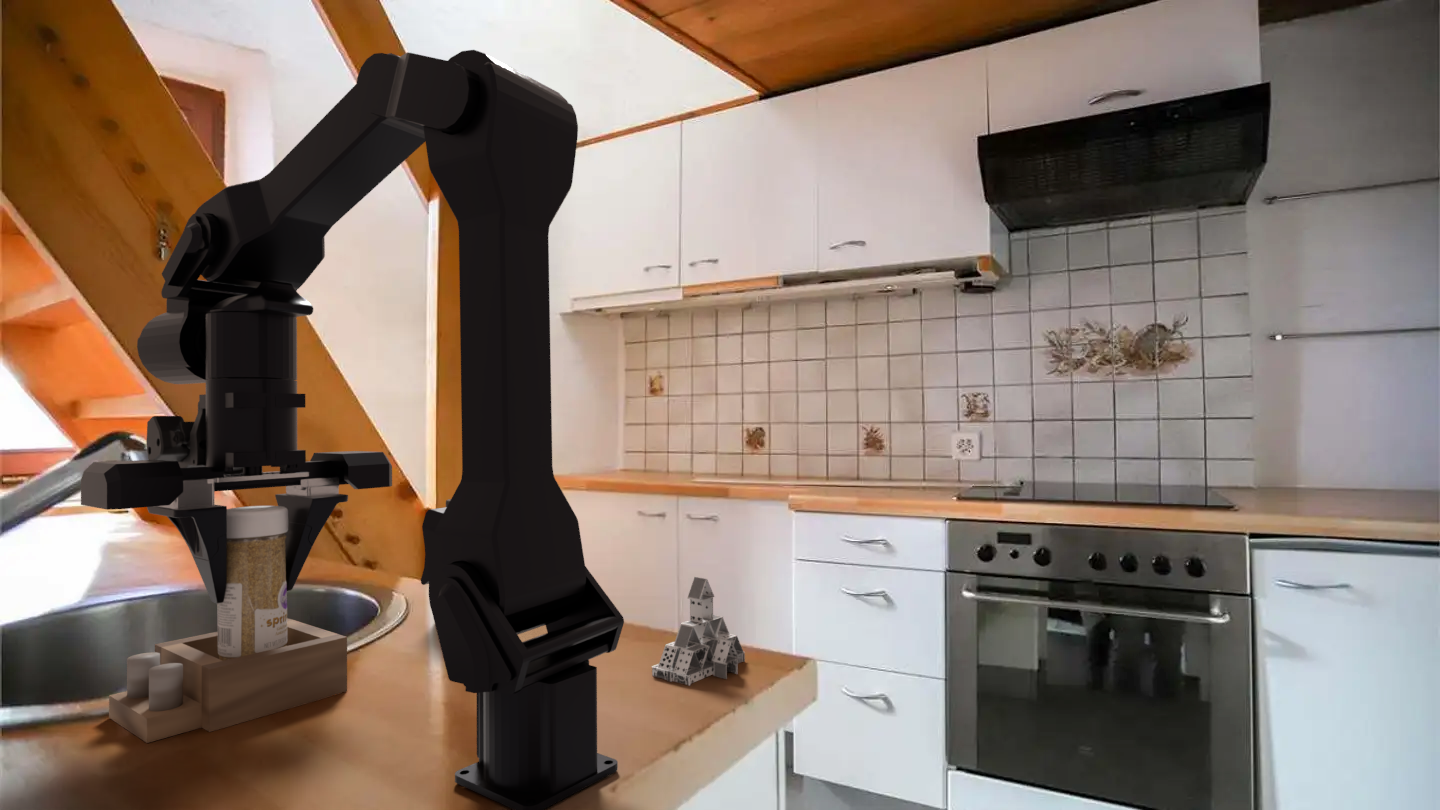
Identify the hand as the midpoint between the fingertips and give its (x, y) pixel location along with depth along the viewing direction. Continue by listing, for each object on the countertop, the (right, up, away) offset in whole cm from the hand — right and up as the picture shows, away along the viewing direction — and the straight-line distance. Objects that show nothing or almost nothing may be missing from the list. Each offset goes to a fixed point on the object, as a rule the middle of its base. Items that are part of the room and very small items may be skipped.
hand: (253, 596), depth 57 cm
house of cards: (+34, -8, +3) cm, 35 cm away
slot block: (-1, -7, -1) cm, 7 cm away
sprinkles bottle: (0, -7, 0) cm, 7 cm away
